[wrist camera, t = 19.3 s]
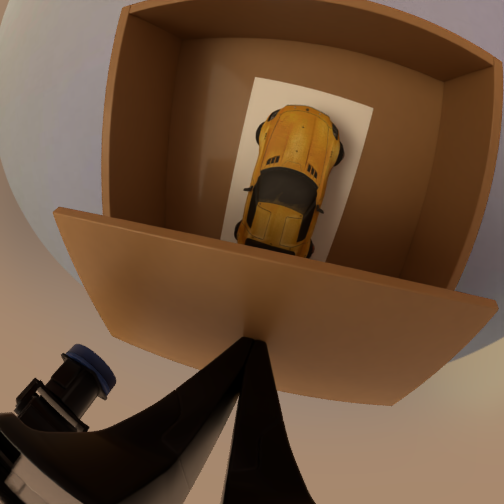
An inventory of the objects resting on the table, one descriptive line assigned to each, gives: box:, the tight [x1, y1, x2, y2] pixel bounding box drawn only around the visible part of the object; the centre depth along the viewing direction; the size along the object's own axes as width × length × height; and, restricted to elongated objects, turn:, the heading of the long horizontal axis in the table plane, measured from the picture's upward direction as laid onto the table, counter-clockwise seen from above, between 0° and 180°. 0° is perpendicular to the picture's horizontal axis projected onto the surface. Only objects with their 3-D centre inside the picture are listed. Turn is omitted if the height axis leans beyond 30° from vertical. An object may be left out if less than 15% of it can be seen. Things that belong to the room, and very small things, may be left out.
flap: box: [53, 207, 499, 406], centre depth 9 cm, size 8×15×1 cm, turn 83°
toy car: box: [220, 77, 373, 262], centre depth 12 cm, size 4×8×2 cm, turn 167°
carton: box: [101, 0, 503, 291], centre depth 11 cm, size 16×15×6 cm
